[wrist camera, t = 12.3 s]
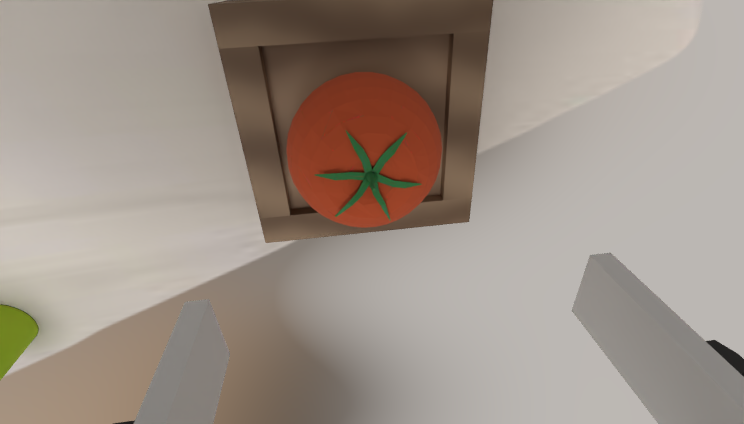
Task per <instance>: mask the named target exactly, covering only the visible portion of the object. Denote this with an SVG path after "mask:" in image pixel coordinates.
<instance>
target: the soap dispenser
mask: <svg viewBox="0 0 744 424" xmlns="http://www.w3.org/2000/svg"><path fill="white" fill-rule="evenodd" d="M37 333H38V326H37V324H36V322H35V321H34V320H33V319H32V318H31V317H30V316H29V315H28V314H26V313H25V312H23V311H21V310H19V309H16V308H13V307H10V306H5V305H0V380H1V379H2V378H3V376H4V375H5V374H6V373H7V371H8V370H9V369H10V368H11V367H12V365H13V364H14V363H15V362H16V360H17V359H18V358H19V357H20V355H21V354H22V353H23V352H24V350H25V349H26V348H27V347H28V345H29V344H30V343H31V342H32V341H33V339H34V338H35V337H36V335H37Z"/></svg>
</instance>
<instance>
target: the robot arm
mask: <svg viewBox="0 0 744 424" xmlns="http://www.w3.org/2000/svg"><path fill="white" fill-rule="evenodd" d="M572 312H573V313H574V314H575V315H576V317H577V318H578V319H579V321H580V322H581V323H582V325H583V326H584V327H585V328H586V330H587V331H588V332H589V334H590V335H591V336H592V338H593V339H594V340H595V342H596V343H597V344H598V345H599V347H600V348H601V349H602V350H603V352H604V353H605V355H606V356H607V357H608V359H609V360H610V361H611V362H612V364H613V365H614V366H615V367H616V369H617V370H618V372H619V373H620V374H621V376H622V377H623V378H624V379H625V381H626V382H627V383H628V385H629V386H630V387H631V389H632V390H633V391H634V392H635V394H636V395H637V396H638V398H639V399H640V400H641V402H642V403H643V404H644V406H645V407H646V408H647V409H648V411H649V412H650V413H651V415H652V416H653V417H654V418H655V420H656V421H657V422H658V424H744V359H743V358H742V357H741V356H740V355H738V354H737V353H736V352H734V351H732V350H730V349H729V348H727V347H726V346H724V345H722V344H721V343H719V342H717V341H716V340H711V341H705V340H704V339H703V338H701V337H700V336H699V335H698V334H697V333H696V332H695V331H694V330H693V329H692V328H691V327H690V326H689V325H687V324H686V323H685V322H684V321H683V320H682V319H681V318H680V317H679V316H678V315H677V314H676V313H675V312H674V311H672V310H671V309H670V308H669V307H668V306H667V305H666V304H665V303H664V302H663V301H662V300H661V299H660V298H658V297H657V296H656V295H655V294H654V293H653V292H652V291H651V290H650V289H649V288H648V287H647V286H646V285H644V284H643V283H642V282H641V281H640V280H639V279H638V278H637V277H636V276H635V275H634V274H633V273H632V272H631V271H629V270H628V269H627V268H626V267H625V266H624V265H623V264H622V263H621V262H620V261H619V260H618V259H617V258H616V257H615V256H613V255H612V254H611V253H604V254H596V255H590V257H589V260H588V263H587V266H586V269H585V272H584V275H583V278H582V281H581V284H580V287H579V290H578V293H577V296H576V299H575V302H574V305H573V309H572ZM229 356H230V353H229V350H228V348H227V345H226V342H225V340H224V337H223V334H222V332H221V329H220V327H219V324H218V321H217V319H216V316H215V313H214V311H213V308H212V305H211V303H210V300H209V299H208V300H199V301H191V302H185V303H184V306H183V308H182V310H181V313H180V315H179V318H178V320H177V323H176V325H175V327H174V329H173V332H172V334H171V336H170V339H169V341H168V344H167V346H166V348H165V351H164V353H163V355H162V358H161V360H160V362H159V365H158V367H157V370H156V372H155V374H154V377H153V379H152V382H151V384H150V386H149V388H148V391H147V393H146V396H145V398H144V400H143V403H142V405H141V408H140V410H139V412H138V414H137V417H136V419H135V421H129V422H121V423H115V424H213V422H214V418H215V414H216V409H217V405H218V401H219V397H220V393H221V389H222V385H223V381H224V377H225V372H226V368H227V364H228V360H229Z"/></svg>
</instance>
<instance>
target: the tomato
mask: <svg viewBox="0 0 744 424" xmlns="http://www.w3.org/2000/svg"><path fill="white" fill-rule="evenodd" d="M286 150H287V159H288V168H289V171H290V174H291V177H292V180H293V183H294V184H295V186H296V188H297V189H298V191H299V193H300V194H301V196H302V197H303V198H304V199H305V201H306V202H307V203H308V204H309V205H310V206H311V207H312V208H313V209H314V210H316V211H317V212H318V213H320V214H321V215H322V216H324V217H326V218H328V219H330V220H332V221H334V222H337V223H340V224H344V225H347V226H352V227H361V228H365V227H377V226H381V225H386V224H389V223H391V222H394V221H396V220H399V219H400V218H402V217H404V216H405V215H407V214H409V213H410V212H411V211H412V210H413V209H415V208H416V207H417V206H418V205H419V204H420V203H421V202H422V201H423V199H424V198H425V197H426V196H427V195H428V193H429V192H430V190H431V188H432V187H433V185H434V183H435V181H436V178H437V175H438V172H439V169H440V163H441V155H442V141H441V133H440V130H439V127H438V124H437V121H436V119H435V116H434V114H433V113H432V111H431V109H430V107H429V106H428V104H427V102H426V101H425V100H424V99H423V98H422V97H421V96H420V95H419V94H418V93H417V92H416V91H415V90H414V89H412V88H411V87H409V86H408V85H407V84H405V83H404V82H402V81H400V80H397V79H395V78H393V77H390V76H388V75H385V74H379V73H374V72H354V73H349V74H345V75H340V76H338V77H336V78H333V79H331V80H329V81H327V82H325V83H323V84H322V85H321V86H319V87H318V88H317V89H315V90H314V91H313V92H312V93H311V94H310V95H309V96H308V97H307V98H306V99H305V100H304V102H303V103H302V104H301V106H300V107H299V109H298V111H297V113H296V114H295V116H294V118H293V120H292V123H291V126H290V129H289V132H288V138H287V148H286Z"/></svg>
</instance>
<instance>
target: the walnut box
mask: <svg viewBox="0 0 744 424" xmlns="http://www.w3.org/2000/svg"><path fill="white" fill-rule="evenodd" d="M492 6H493V0H237V1H224V2H218V3H213V4H208V7H209V11H210V15H211V19H212V23H213V27H214V31H215V35H216V40H217V44H218V48H219V52H220V56H221V60H222V64H223V69H224V73H225V77H226V81H227V85H228V89H229V93H230V97H231V102H232V106H233V110H234V114H235V118H236V122H237V126H238V131H239V135H240V139H241V143H242V147H243V151H244V155H245V159H246V164H247V168H248V172H249V176H250V180H251V184H252V188H253V193H254V197H255V201H256V205H257V209H258V213H259V217H260V221H261V226H262V230H263V234H264V238H265V242H266V243H270V242H279V241H289V240H299V239H308V238H318V237H328V236H337V235H346V234H357V233H366V232H376V231H385V230H395V229H405V228H414V227H423V226H433V225H443V224H453V223H462V222H469V218H470V208H471V199H472V189H473V181H474V172H475V163H476V153H477V144H478V135H479V126H480V117H481V107H482V98H483V89H484V80H485V71H486V61H487V52H488V43H489V34H490V25H491V15H492ZM354 72H374V73H379V74H385V75H388V76H390V77H393V78H395V79H397V80H400V81H402V82H404V83H405V84H407V85H408V86H409V87H411V88H412V89H414V90H415V91H416V92H417V93H418V94H419V95H420V96H421V97H422V98H423V99H424V100H425V101H426V102H427V104H428V106H429V107H430V109H431V111H432V113H433V114H434V116H435V119H436V121H437V124H438V127H439V130H440V133H441V141H442V155H441V163H440V169H439V172H438V175H437V178H436V181H435V183H434V185H433V187H432V188H431V190H430V192H429V193H428V195H427V196H426V197H425V198H424V199H423V201H422V202H421V203H420V204H419V205H418V206H417V207H416V208H415V209H413V210H412V211H411V212H410V213H409V214H407V215H405V216H404V217H402V218H400V219H399V220H396V221H394V222H391V223H389V224H386V225H381V226H377V227H365V228H361V227H352V226H347V225H344V224H340V223H337V222H334V221H332V220H330V219H328V218H326V217H324V216H322V215H321V214H320V213H318V212H317V211H316V210H314V209H313V208H312V207H311V206H310V205H309V204H308V203H307V202H306V201H305V199H304V198H303V197H302V196H301V194H300V193H299V191H298V189H297V188H296V186H295V184H294V183H293V180H292V177H291V174H290V171H289V168H288V159H287V150H286V148H287V138H288V132H289V129H290V126H291V123H292V120H293V118H294V116H295V114H296V113H297V111H298V109H299V107H300V106H301V104H302V103H303V102H304V100H305V99H306V98H307V97H308V96H309V95H310V94H311V93H312V92H313V91H314V90H315V89H317V88H318V87H319V86H321V85H322V84H323V83H325V82H327V81H329V80H331V79H333V78H336V77H338V76H340V75H345V74H349V73H354Z"/></svg>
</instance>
